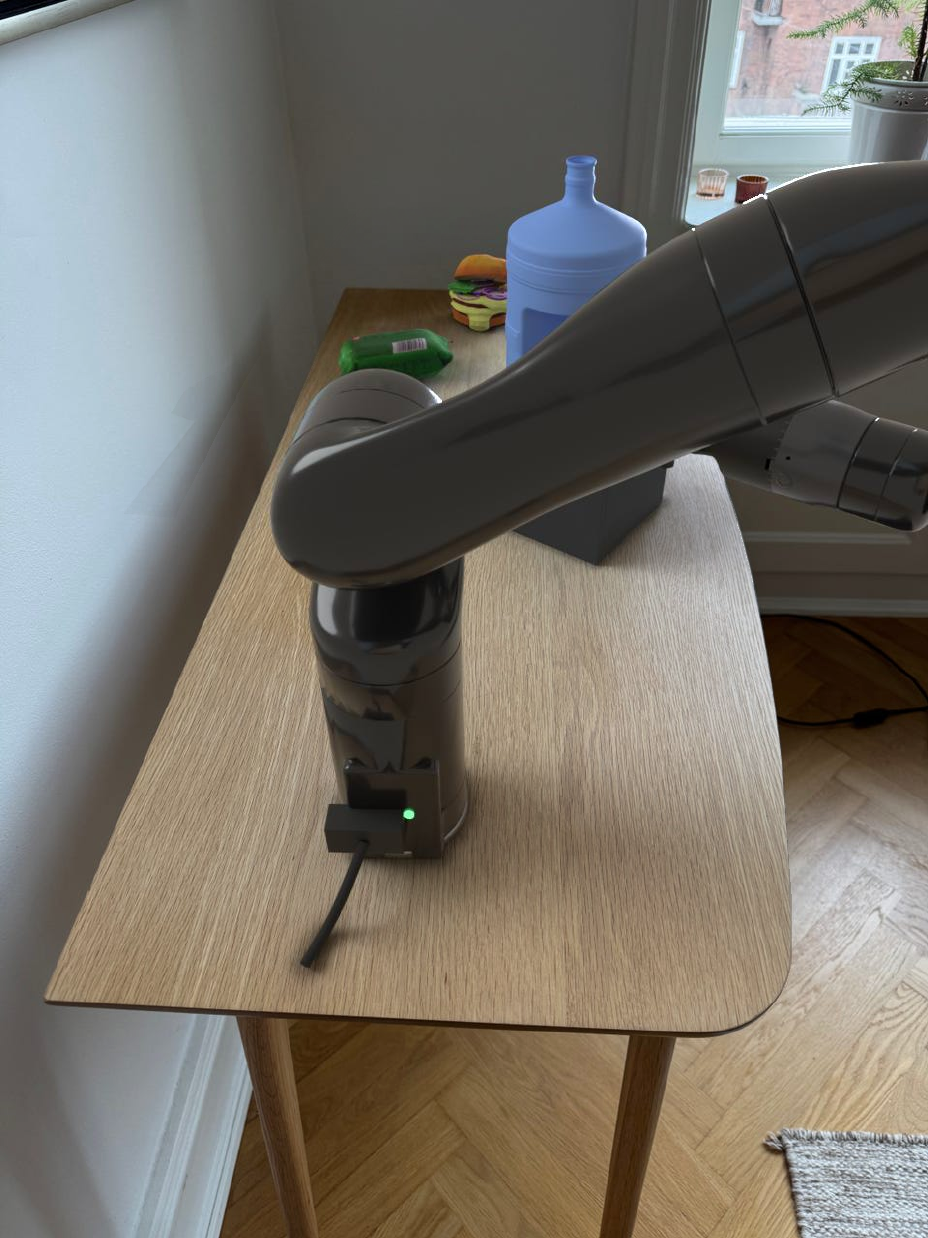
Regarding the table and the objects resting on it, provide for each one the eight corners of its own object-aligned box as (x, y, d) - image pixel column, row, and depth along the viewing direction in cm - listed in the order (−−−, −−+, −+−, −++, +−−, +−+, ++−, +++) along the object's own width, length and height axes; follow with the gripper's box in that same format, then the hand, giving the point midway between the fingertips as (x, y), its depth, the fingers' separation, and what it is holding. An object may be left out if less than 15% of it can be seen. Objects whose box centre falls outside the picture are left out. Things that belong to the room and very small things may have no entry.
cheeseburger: (442, 331, 131) (442, 256, 126) (455, 319, 140) (455, 249, 136) (512, 333, 129) (515, 258, 125) (521, 321, 139) (523, 250, 134)
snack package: (461, 380, 120) (460, 342, 116) (342, 395, 117) (338, 356, 113) (448, 357, 125) (447, 320, 122) (334, 371, 122) (330, 334, 119)
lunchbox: (453, 506, 98) (451, 424, 91) (525, 452, 106) (528, 373, 99) (596, 565, 89) (604, 480, 83) (662, 502, 98) (674, 419, 91)
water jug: (487, 383, 119) (486, 148, 100) (598, 365, 122) (617, 134, 104) (530, 442, 107) (539, 188, 89) (651, 419, 111) (683, 171, 92)
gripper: (846, 362, 69) (646, 311, 77) (768, 441, 61) (552, 373, 69) (822, 449, 74) (636, 392, 82) (747, 533, 66) (548, 460, 74)
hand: (599, 384), depth 75 cm, fingers closed on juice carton, 4 cm apart
